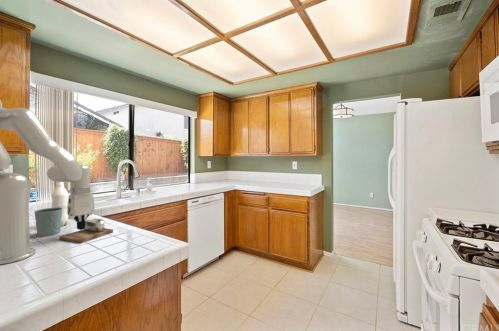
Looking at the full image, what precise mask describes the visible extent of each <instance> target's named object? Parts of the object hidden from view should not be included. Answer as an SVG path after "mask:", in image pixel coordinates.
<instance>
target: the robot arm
mask: <svg viewBox="0 0 499 331" xmlns="http://www.w3.org/2000/svg"><path fill="white" fill-rule="evenodd" d="M0 130H3V131H11V132H12V131H13V132H15V133H16V135H17V136H18V137H19V139H20V140H21V141H22V143H24V145H25V146H26V147H27V149H28V150H29V151H31V152H32V153H33V154H36V155H38V156H40V157H42V158H45V159H46V160H47V159H48V160H49V161H50V162H52V163H53V164H54V166H53V165H52V166H51V167H49V168H48V170H47V171H46V176H47V178H48V179H49V180H51V181H52V182H55V183H56V182H63V183H70V188H69V189H68V190H67V192H68V205H67V214H68V219H69V220H74V221H75V222H76V228H77V230H78V231H80V230H83V229H85V220H88V218H89V216H91V215H93V214H94V212H95V210H96V209H95V200H94V196H93V192H91V169H90V168H91V167H90V166H89V165H83V164H79V162H78V161H77V159H76V158H75V156H73V154H71V152H69V151H68V150H67V149H65V148H64V147H63V146H62V145H60V144H58V143H57V142H56V141H55V140H54V138H53V137H52V136H51V135H50V133H49V132H48V130H47V128H45V126H44V124H43V123H42V122H41V121H40V119H39V117H38V116H37V115H36V114H35V113H34V111H32V109H31V110H30V109H29V108H25V107H14V108H7V107H3V103H2V100H1V99H0ZM11 163H12V158H11V156H10V154H9V152H8V151H7V149H6V148H5V146H4V144H3V143H2V141H1V140H0V265H6V264H10V263H11V264H12V263H15V262H19V261H22V260H25V259H28V258H29V257H32V256H34V255H35V254H36V250H37V249H36V248H34V247H31V241H30V239H31V237H30V236H31V235H30V212H29V211H30V209H29V207H30V206H29V202H30V195H31V190H32V189H31V188H32V184H31V181H30V180H29V178H28V177H27V176H25V175H23V174H20V173H16V172H5V171H4V170H7V169H8V168H9V167H10V166H11Z"/></svg>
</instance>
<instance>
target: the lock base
mask: <svg viewBox="0 0 499 331" xmlns="http://www.w3.org/2000/svg"><path fill="white" fill-rule="evenodd" d="M99 219H100V218H93V219H91V220H96V221H98V220H99ZM101 219H102V218H101ZM102 220H104V219H102ZM113 232H114V229H112V228H108V227H107V228H106V227H105V230H104V231H100V232H96V231H92V230H86V229H83V230H76V231H73V232H70V233H67V234H64V235H61V236H59V240H60V241H65V242H71V243H77V244H83V243H87V242H89V241H90V242H91V241H92V240H95V239H98V238H100V237H104V236H106V235H110V234H113Z"/></svg>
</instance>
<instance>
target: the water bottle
mask: <svg viewBox="0 0 499 331" xmlns="http://www.w3.org/2000/svg"><path fill="white" fill-rule="evenodd" d="M54 185H55V188H54V190H53V191H52V193H51V208H62V217H61V227H63V226H68V224H69V223H70V219H68V216H69V215H68V214H67V205H68V198H69V193H68V190H67V189H66V188H65V186H64V185H65V184H64V182H56V181H55V184H54Z"/></svg>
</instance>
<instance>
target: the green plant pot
mask: <svg viewBox="0 0 499 331" xmlns="http://www.w3.org/2000/svg"><path fill="white" fill-rule="evenodd" d="M34 216H35V219H34V220H35V227H36V236H37V237H38V238H44V237H51V236H55V235H58V234H60V233H61V231H62V230H61V228H62V226H61V217H62V208H52V207H49V208H48V207H47V208H41V209H40V208H39V209H37V210H34Z"/></svg>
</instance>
